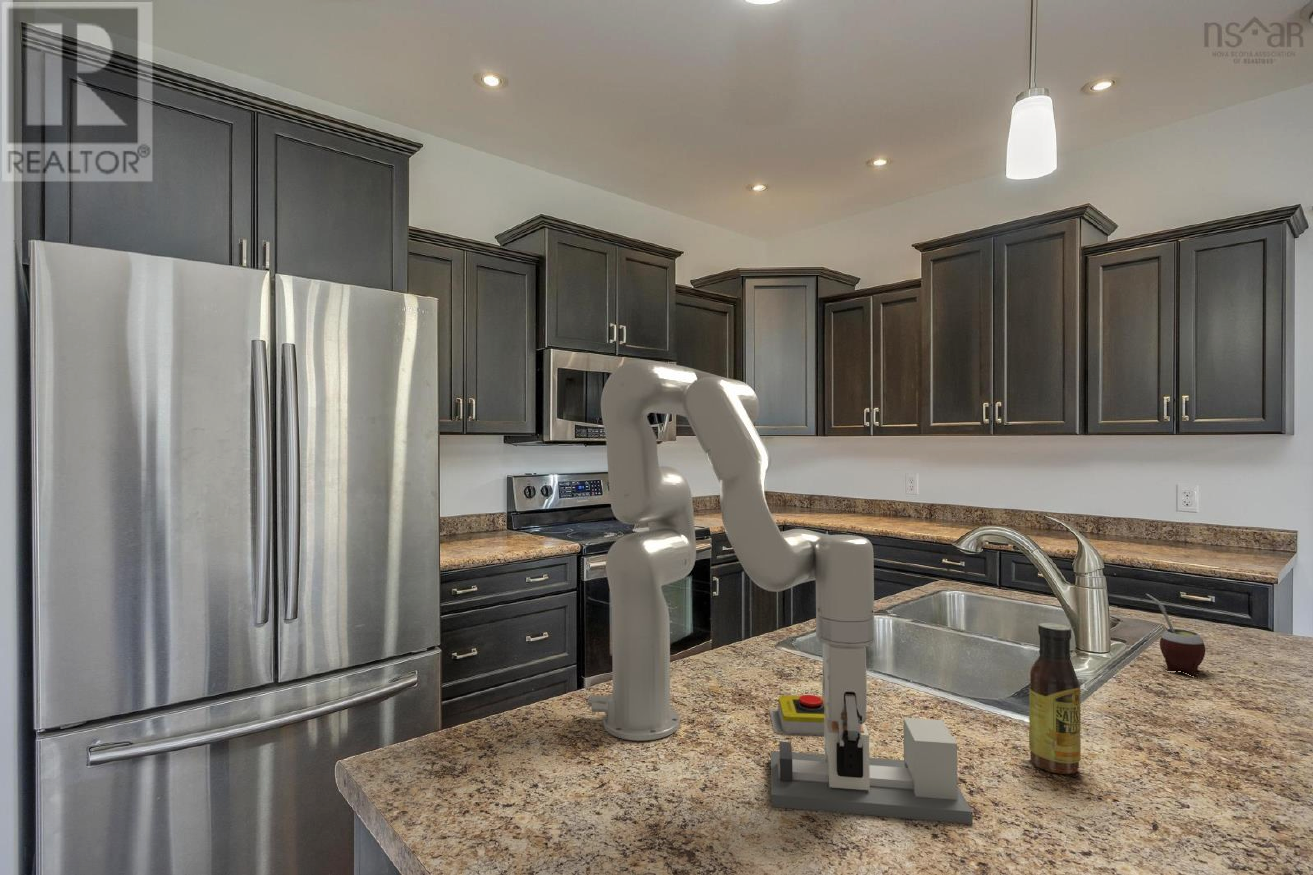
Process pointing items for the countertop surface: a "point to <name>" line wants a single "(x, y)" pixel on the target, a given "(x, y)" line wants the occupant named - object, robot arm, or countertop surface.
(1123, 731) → the countertop surface
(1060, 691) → the sauce bottle
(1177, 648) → the mate gourd
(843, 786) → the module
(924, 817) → the rail board
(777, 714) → the emergency button
